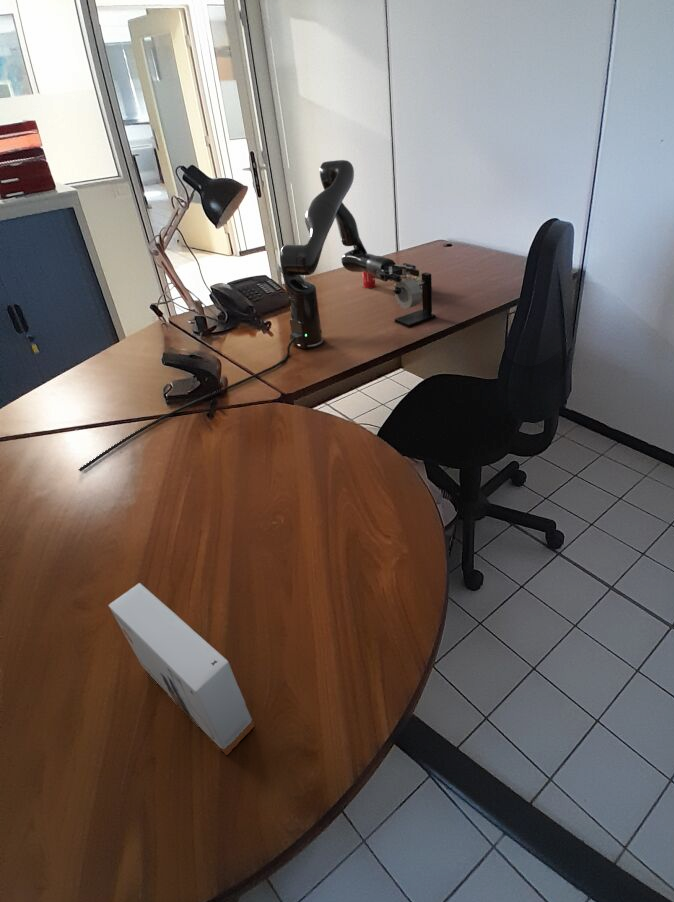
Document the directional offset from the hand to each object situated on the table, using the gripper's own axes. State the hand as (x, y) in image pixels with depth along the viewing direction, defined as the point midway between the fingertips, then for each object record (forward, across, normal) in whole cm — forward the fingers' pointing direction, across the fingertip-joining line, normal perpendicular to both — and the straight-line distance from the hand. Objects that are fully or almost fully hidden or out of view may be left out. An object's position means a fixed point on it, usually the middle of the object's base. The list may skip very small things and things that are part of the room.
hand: (409, 276), depth 190 cm
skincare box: (+87, -116, +18) cm, 146 cm away
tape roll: (-1, 0, +11) cm, 11 cm away
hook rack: (-1, +3, +17) cm, 18 cm away
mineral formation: (-26, +22, +18) cm, 38 cm away
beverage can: (-45, +15, +18) cm, 50 cm away
